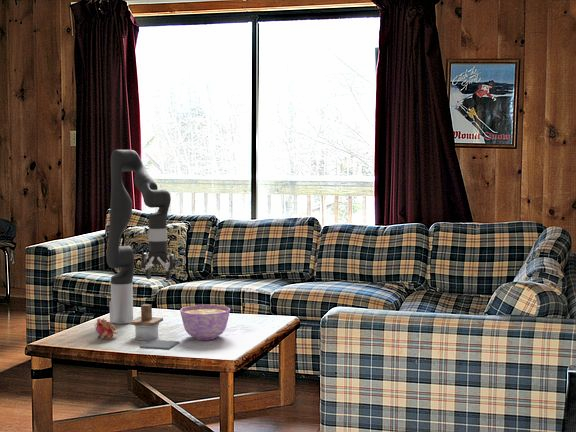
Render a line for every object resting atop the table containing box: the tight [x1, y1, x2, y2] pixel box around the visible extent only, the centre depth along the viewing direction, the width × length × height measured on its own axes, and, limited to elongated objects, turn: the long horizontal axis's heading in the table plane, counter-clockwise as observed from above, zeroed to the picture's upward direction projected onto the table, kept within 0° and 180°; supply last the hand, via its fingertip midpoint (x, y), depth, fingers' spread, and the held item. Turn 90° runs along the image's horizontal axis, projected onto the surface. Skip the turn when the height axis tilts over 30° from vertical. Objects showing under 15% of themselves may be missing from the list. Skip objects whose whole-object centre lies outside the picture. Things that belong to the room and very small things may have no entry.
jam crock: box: [133, 323, 160, 341], centre depth 336 cm, size 10×10×6 cm
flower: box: [94, 318, 119, 340], centre depth 334 cm, size 10×9×8 cm
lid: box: [129, 303, 164, 326], centre depth 335 cm, size 10×10×7 cm
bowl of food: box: [179, 304, 231, 341], centre depth 335 cm, size 20×20×12 cm
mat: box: [139, 339, 180, 350], centre depth 323 cm, size 12×11×1 cm
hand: (158, 279), depth 337 cm, fingers open, 8 cm apart
